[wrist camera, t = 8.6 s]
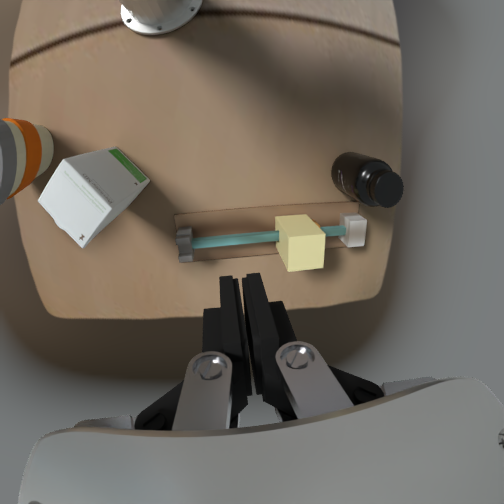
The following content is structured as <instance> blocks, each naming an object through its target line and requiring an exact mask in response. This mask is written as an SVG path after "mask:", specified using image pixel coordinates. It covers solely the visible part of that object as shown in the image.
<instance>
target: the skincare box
mask: <svg viewBox="0 0 504 504" xmlns="http://www.w3.org/2000/svg"><path fill="white" fill-rule="evenodd" d="M149 182H150V179H149V178H148V177H147V176H145V175H144V174H143V173H142V172H141V170H140V169H139V168H138V167H137V166H136V165H134V164H133V163H132V162H131V161H130V160H129V159H128V158H127V157H126V156H125V155H124V154H123V153H122V152H121V151H120V150H119V149H118V148H117V147H111V148H107V149H102V150H98V151H93V152H89V153H85V154H81V155H77V156H73V157H69V158H66V159H63V160H62V162H61V163H60V165H59V166H58V168H57V169H56V171H55V172H54V174H53V175H52V177H51V179H50V180H49V182H48V184H47V185H46V187H45V189H44V191H43V192H42V194H41V196H40V198H39V200H38V202H39V203H40V204H41V205H42V206H43V207H44V209H45V210H46V211H47V212H48V213H49V214H50V215H51V217H52V218H53V219H54V220H55V223H56V224H57V225H58V227H59V228H61V229H63V230H65V231H66V232H67V233H68V234H69V235H70V236H71V237H72V238H73V239H74V240H75V241H76V242H77V243H78V244H79V245H80V246H81V247H82V248H85V247H86V246H87V244H88V243H89V242H90V241H91V240H92V239H93V238H94V237H95V236H96V235H97V234H98V233H99V232H100V231H101V230H103V229H104V228H105V227H106V226H107V225H108V224H109V223H110V222H111V221H112V220H113V219H115V218H116V217H117V216H118V215H119V214H120V213H121V212H123V211H124V210H125V209H126V208H127V207H128V206H129V205H130V204H131V202H132V201H133V200H134V199H135V198H136V197H137V196H138V194H139V193H140V192H141V191H142V190H143V189H144V188H145V187H146V185H147V184H148V183H149Z"/></svg>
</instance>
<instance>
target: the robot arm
mask: <svg viewBox="0 0 504 504" xmlns="http://www.w3.org/2000/svg"><path fill="white" fill-rule="evenodd" d="M119 1H120V2H121V3H122V6H121V18H122V21H123V22H124V23H125V25H126V26H127V27H128V28H129V29H131V30H132V31H134V32H136V33H139V34H143V35H159V34H164V33H168V32H171V31H173V30H176V29H178V28H180V27H181V26H183V25H185V24H186V23H187V22H189V21H190V20H191V19H192V18H193V17H194V16H195V15H196V14H197V12H198V11H199V9H200V7H201V5H202V1H203V0H119ZM192 10H194V11H192ZM129 22H130V23H129ZM160 29H162V30H160ZM159 30H160V31H159ZM219 279H220V303H221V307H220V308H209V309H204V313H203V347H202V348H203V350H202V353H200V354H198V355H197V356H195V357H194V358H193V359H192V360H191V361H190V363H189V365H188V368H187V372H186V375H185V379H184V380H183V381H182V382H181V383H180V384H178V385H177V386H176V387H174V388H173V389H172V390H170V391H169V392H168V393H166V394H165V395H164V396H162V397H161V398H160V399H158V400H157V401H156V402H154V403H153V404H152V405H150V406H149V407H147V408H146V409H145V410H143V411H142V412H141V413H140V414H139V415H138V416H137V417H131V416H130V415H125V416H117V417H109V418H99V419H87V420H82V421H79V422H78V423H76V424H75V426H74V427H72V428H66V429H60V430H56V431H53V432H50V433H47V434H45V435H44V436H42V437H41V438H40V439H39V440H38V441H37V443H36V444H35V445H34V447H33V449H32V451H31V454H30V456H29V459H28V461H27V465H26V467H25V471H24V475H23V479H22V483H21V488H20V494H19V499H18V504H504V406H503V405H502V403H501V402H500V401H499V400H498V398H497V397H496V396H495V395H494V394H493V392H492V391H491V390H490V389H489V388H488V387H487V386H486V385H485V384H483V383H482V382H481V381H479V380H478V379H475V378H472V377H461V376H460V377H447V378H442V379H437V380H436V379H435V378H432V377H422V378H416V379H409V380H402V381H394V382H386V383H383V384H382V386H378V385H376V384H374V383H373V382H370V381H368V380H365V379H362V378H360V377H357V376H354V375H352V374H349V373H346V372H344V371H341V370H339V369H336V368H334V367H331V366H329V365H327V364H326V363H325V361H324V360H323V358H322V357H321V355H320V353H319V352H318V350H316V348H315V347H314V346H312V345H310V344H308V343H305V342H298V341H297V339H296V337H295V334H294V331H293V329H292V326H291V323H290V321H289V318H288V315H287V312H286V309H285V307H284V304H283V302H282V301H276V302H268V299H267V295H266V292H265V289H264V285H263V282H262V279H261V275H260V273H252V274H247V277H246V278H242V287H243V300H244V312H245V321H244V315H243V309H242V302H241V296H240V289H239V283H238V278H236V279H233V277H232V276H221V277H219ZM245 325H246V328H245ZM247 340H248V341H247ZM248 346H249V351H248ZM249 352H250V359H251V364H252V370H253V376H254V382H255V388H256V394H257V395H259V394H262V396H263V401H265V402H266V403H268V404H270V405H272V406H274V408H275V413H276V415H277V417H278V420H279V422H280V423H274V424H267V425H259V426H252V427H242V428H239V425H240V411H242V410H243V409H244V408H245V407H246V406H247V405H248V400H247V396H251V395H252V386H251V375H250V363H249Z"/></svg>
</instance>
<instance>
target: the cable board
mask: <svg viewBox="0 0 504 504" xmlns="http://www.w3.org/2000/svg"><path fill="white" fill-rule="evenodd" d="M358 210H359V202H358V201H356V202H330V203H310V204H292V205H277V206H263V207H250V208H238V209H226V210H216V211H205V212H195V213H186V214H177V215H174V219H175V226H176V232H177V234H176V239H175V240H176V245H178V248H179V262H191V261H202V260H212V259H223V258H233V257H244V256H254V255H264V254H275V253H279V252H278V250H277V248H276V241H279V230H277V231H275V216H288V215H303V214H307V216H308V217H309V218H310V219H311V220H312V221H313V222H314V223H315V224H316V225H317V226H318V227H319V228H320V229H321V230H322V231H323V232H324V233H325V234H326V235H325V249H326V248H336V247H346V246H347V247H356V246H364V243H365V234H366V225H367V220H366V219H365V218H363V217H362V216H360V215H359V214H358Z"/></svg>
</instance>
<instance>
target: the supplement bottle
mask: <svg viewBox="0 0 504 504" xmlns="http://www.w3.org/2000/svg"><path fill="white" fill-rule="evenodd" d="M331 175H332V180H333V182H334V184H335V186H336V187H337V188H338V189H339V190H341V191H342V192H344V193H346V194H347V195H349V196H351V197H352V198H354V199H356V200H357V201H359V202H361V203H362V204H364V205H366V206H370V207H376V206H382V207H385V208H386V207H387V208H389V207H392V206H394V205H396V204H397V203H398V202H399V200H400V199H401V197H402V194H403V187H404V186H403V182H402V179H401V177H399V175H398V174H396V173H395V172H393V171H392V169H391V168H390V166H389V165H388V164H387V163H386V162H384V161H382V160H379V159H376V158H373V157H369V156H366V155H362V154H359V153H354V152H347V153H344V154H342V155H340V156H339V157H338V158H337V159H336V160H335V162H334V163H333V166H332V171H331Z"/></svg>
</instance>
